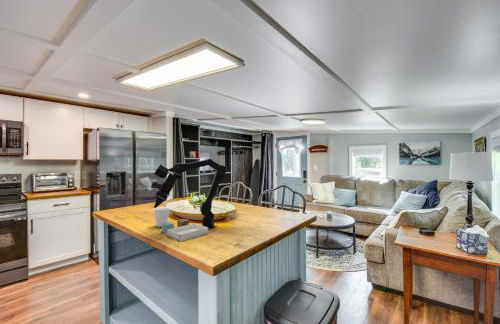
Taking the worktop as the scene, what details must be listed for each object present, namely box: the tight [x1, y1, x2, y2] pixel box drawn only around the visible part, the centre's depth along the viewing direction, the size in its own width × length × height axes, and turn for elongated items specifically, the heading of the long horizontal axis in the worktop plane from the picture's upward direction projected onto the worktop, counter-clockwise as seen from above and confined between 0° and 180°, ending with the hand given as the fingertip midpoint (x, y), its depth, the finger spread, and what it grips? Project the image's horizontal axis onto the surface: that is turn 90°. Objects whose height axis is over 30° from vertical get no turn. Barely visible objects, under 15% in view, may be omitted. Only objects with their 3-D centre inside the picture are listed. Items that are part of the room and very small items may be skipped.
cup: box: [152, 206, 171, 228], centre depth 157 cm, size 10×10×11 cm
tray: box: [166, 223, 209, 242], centre depth 139 cm, size 18×13×4 cm
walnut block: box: [176, 218, 190, 228], centre depth 151 cm, size 5×5×5 cm
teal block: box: [161, 221, 175, 235], centre depth 144 cm, size 5×5×5 cm
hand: (155, 206), depth 145 cm, fingers open, 9 cm apart
